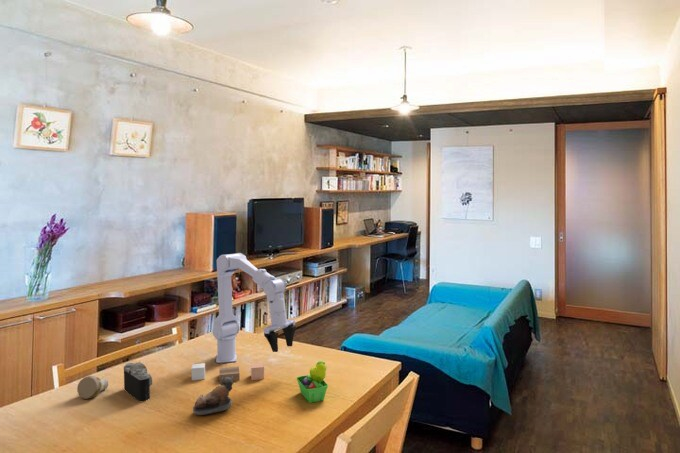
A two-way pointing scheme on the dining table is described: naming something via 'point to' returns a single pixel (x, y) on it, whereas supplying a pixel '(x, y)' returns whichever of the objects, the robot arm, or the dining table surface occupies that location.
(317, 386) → the fruit basket
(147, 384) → the camera
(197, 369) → the grey block
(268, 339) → the robot arm
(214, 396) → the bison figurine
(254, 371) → the terracotta block
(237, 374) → the walnut base
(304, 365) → the dining table surface
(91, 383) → the grey stepped cylinder
